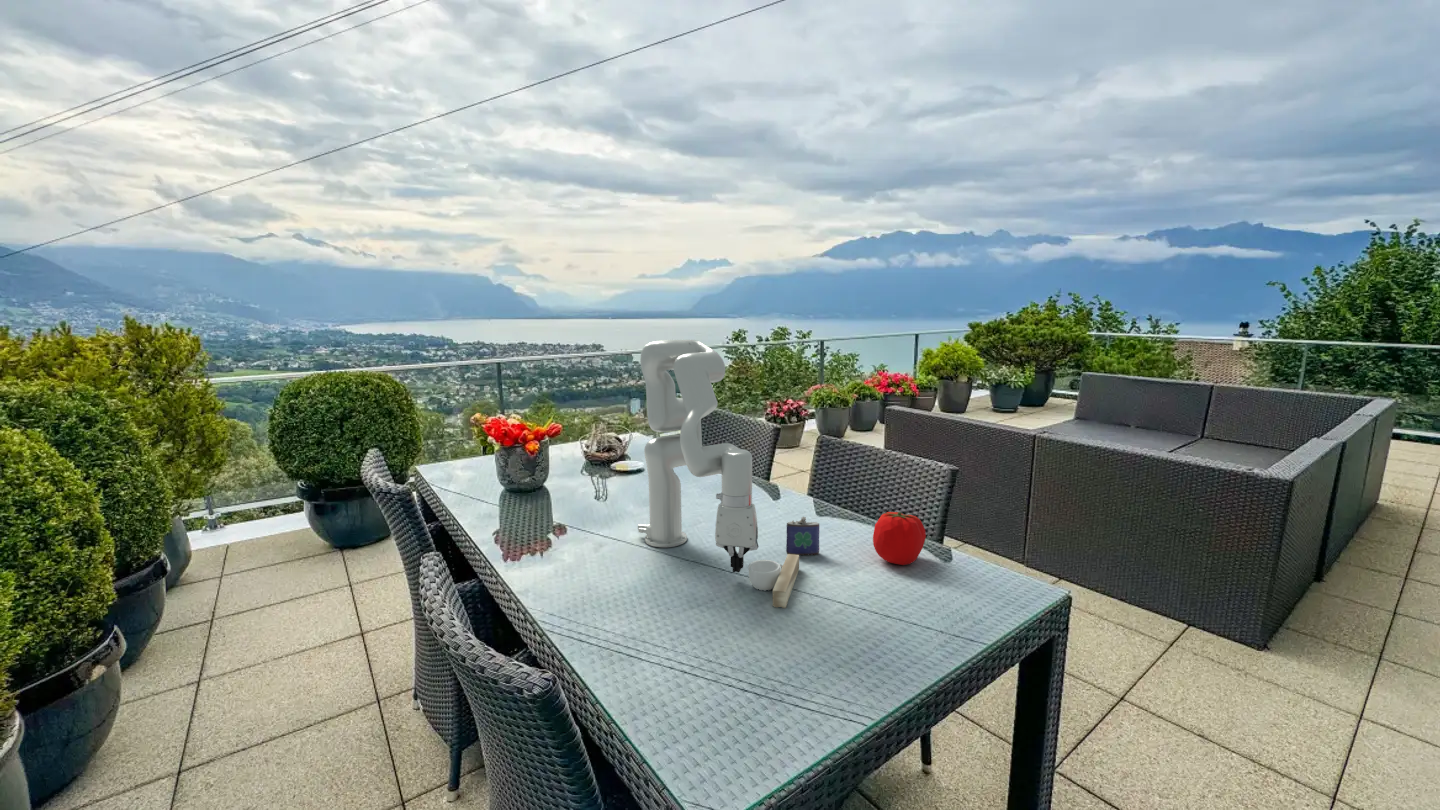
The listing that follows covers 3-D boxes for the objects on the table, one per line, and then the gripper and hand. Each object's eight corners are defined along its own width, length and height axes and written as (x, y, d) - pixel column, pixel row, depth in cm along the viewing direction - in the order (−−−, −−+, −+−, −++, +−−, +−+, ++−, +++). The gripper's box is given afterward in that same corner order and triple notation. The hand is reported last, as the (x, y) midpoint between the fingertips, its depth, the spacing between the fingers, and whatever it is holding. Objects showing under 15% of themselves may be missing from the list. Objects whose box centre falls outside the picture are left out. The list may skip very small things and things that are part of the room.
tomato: (893, 574, 150) (895, 523, 148) (859, 555, 162) (861, 508, 161) (939, 564, 156) (941, 515, 154) (904, 546, 169) (905, 501, 167)
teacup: (762, 597, 139) (762, 575, 138) (742, 585, 145) (742, 564, 144) (793, 585, 144) (793, 564, 144) (772, 575, 151) (772, 555, 150)
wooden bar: (772, 606, 134) (772, 590, 133) (787, 568, 155) (787, 553, 154) (785, 608, 133) (785, 591, 132) (799, 569, 154) (799, 554, 153)
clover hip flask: (818, 551, 166) (819, 515, 164) (819, 556, 163) (820, 519, 161) (785, 551, 166) (786, 515, 165) (786, 555, 163) (786, 518, 162)
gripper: (703, 501, 142) (704, 573, 145) (763, 506, 139) (763, 579, 141) (711, 493, 150) (712, 561, 152) (769, 497, 146) (769, 567, 148)
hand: (737, 569), depth 147 cm, fingers closed
